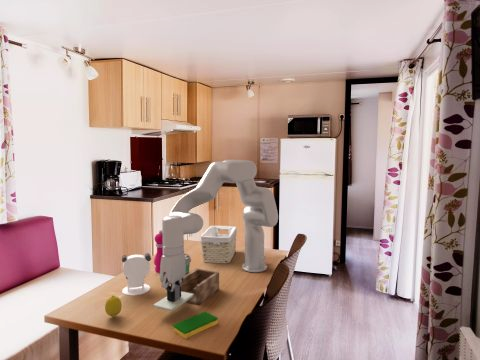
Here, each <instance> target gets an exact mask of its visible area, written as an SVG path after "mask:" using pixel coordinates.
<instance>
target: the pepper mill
mask: <svg viewBox="0 0 480 360" xmlns="http://www.w3.org/2000/svg"><path fill="white" fill-rule="evenodd" d="M154 241H155V247H156V253H155V255H154V259H153V264H154V266H155V267H154V270H155V272H156V273H160V265H161V258H162V256H163V234H162V229H161V230H158V233H157V234H155V236H154Z"/></svg>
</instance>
